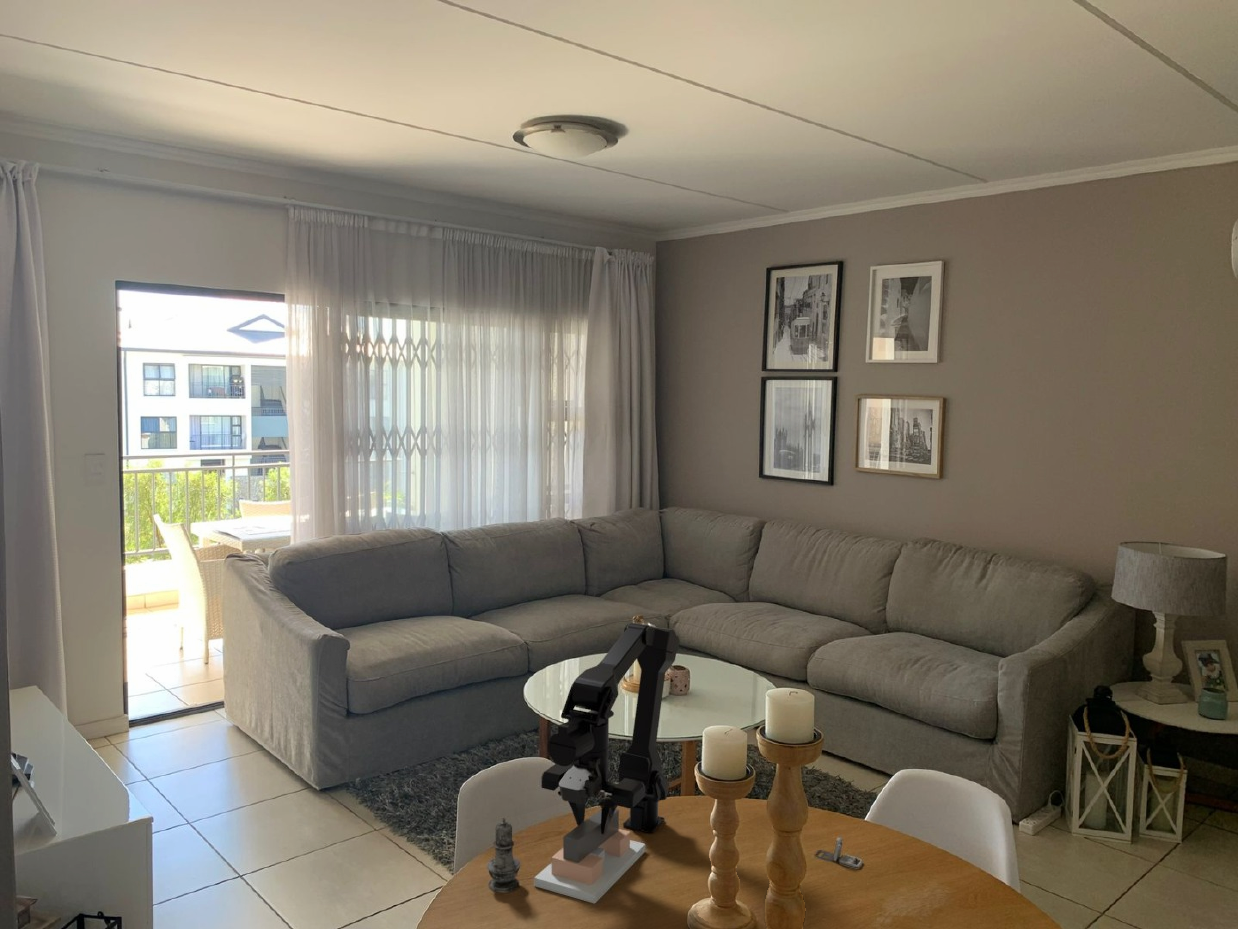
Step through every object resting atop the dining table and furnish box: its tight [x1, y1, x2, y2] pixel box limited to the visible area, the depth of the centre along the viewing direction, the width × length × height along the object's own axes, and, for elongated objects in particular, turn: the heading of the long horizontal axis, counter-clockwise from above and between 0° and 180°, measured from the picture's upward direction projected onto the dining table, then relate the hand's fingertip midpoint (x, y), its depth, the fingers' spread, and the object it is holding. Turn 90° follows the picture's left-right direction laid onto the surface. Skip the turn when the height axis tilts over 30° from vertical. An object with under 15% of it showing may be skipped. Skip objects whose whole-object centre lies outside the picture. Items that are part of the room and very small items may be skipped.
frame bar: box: [562, 808, 620, 863], centre depth 164 cm, size 14×3×4 cm, turn 150°
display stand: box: [533, 828, 646, 905], centre depth 165 cm, size 20×12×4 cm, turn 153°
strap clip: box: [813, 837, 863, 870], centre depth 169 cm, size 8×3×4 cm, turn 58°
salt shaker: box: [486, 817, 522, 894], centre depth 159 cm, size 6×6×12 cm
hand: (592, 830), depth 164 cm, fingers open, 4 cm apart
